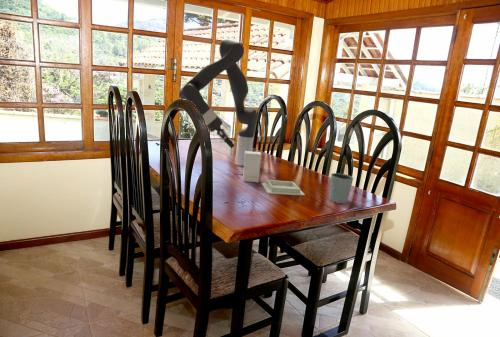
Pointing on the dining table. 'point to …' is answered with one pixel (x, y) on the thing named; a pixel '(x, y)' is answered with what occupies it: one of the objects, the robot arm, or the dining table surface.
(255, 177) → the skincare box
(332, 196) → the grey plant pot
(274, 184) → the tray
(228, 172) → the dining table surface
